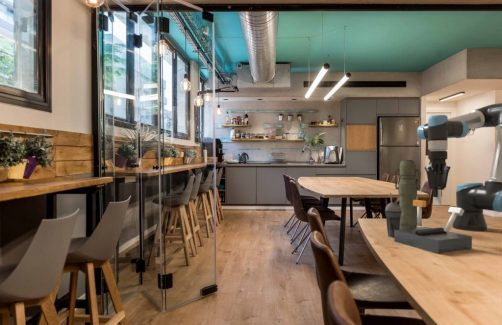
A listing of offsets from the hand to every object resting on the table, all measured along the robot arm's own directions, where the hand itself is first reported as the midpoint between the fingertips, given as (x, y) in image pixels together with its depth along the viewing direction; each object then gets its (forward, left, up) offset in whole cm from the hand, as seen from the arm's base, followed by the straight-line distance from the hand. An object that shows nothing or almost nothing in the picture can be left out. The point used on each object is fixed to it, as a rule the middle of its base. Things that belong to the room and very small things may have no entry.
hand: (437, 204), depth 155 cm
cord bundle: (+11, +6, -10) cm, 16 cm away
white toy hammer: (+9, +12, -9) cm, 18 cm away
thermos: (-8, -24, -16) cm, 30 cm away
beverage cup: (+12, -13, -16) cm, 24 cm away
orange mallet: (+10, 0, -9) cm, 14 cm away
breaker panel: (+10, +6, -16) cm, 20 cm away
